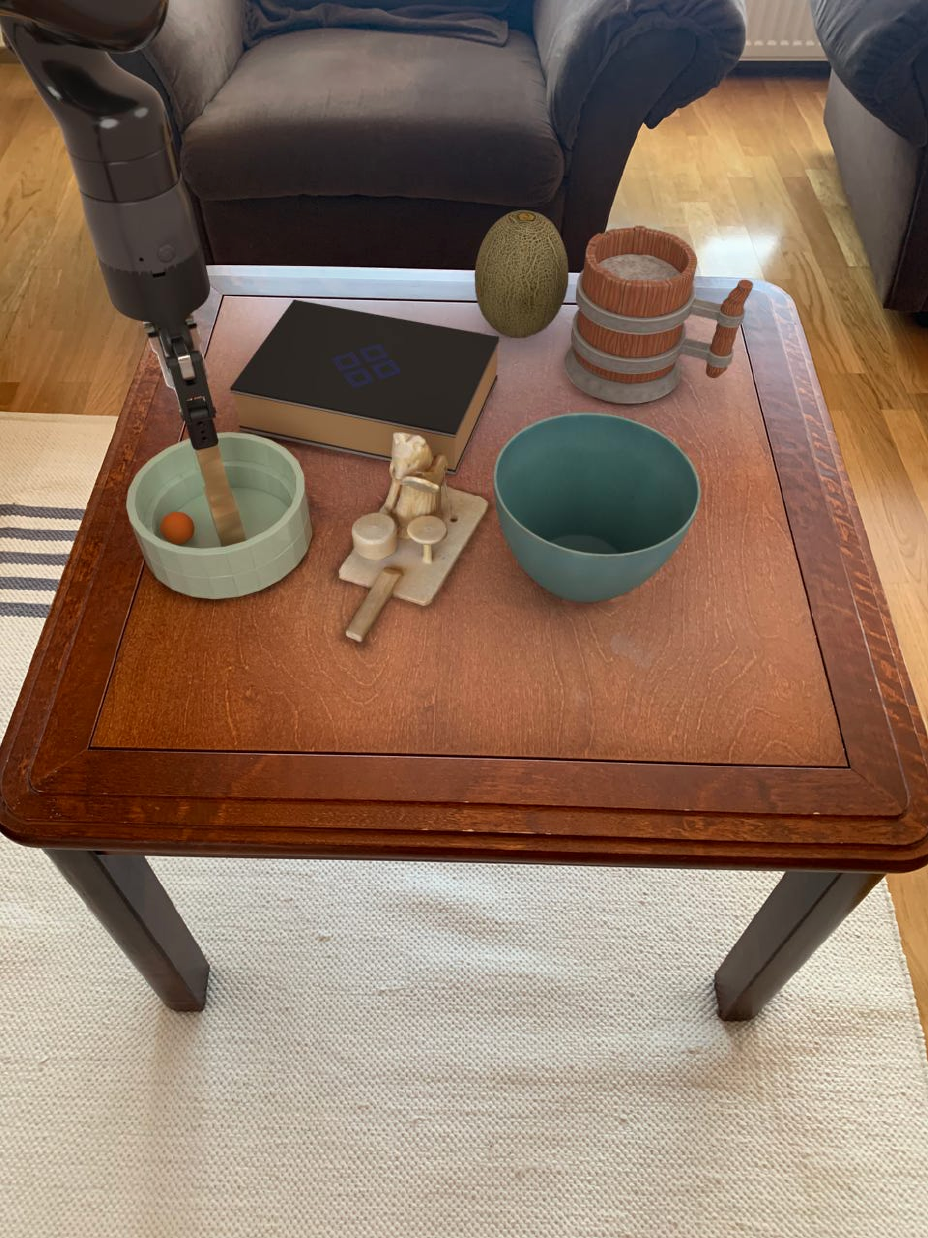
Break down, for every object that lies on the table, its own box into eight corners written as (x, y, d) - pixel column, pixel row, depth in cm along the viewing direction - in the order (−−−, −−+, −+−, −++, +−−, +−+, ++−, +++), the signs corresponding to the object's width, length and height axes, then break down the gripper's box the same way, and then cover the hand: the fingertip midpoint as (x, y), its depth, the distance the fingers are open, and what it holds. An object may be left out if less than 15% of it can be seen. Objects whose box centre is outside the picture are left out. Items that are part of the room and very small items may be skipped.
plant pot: (667, 509, 96) (691, 416, 86) (682, 649, 84) (711, 560, 75) (493, 500, 96) (497, 407, 87) (485, 638, 85) (488, 548, 75)
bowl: (164, 625, 86) (144, 575, 80) (132, 508, 95) (112, 457, 90) (334, 574, 90) (326, 524, 84) (287, 467, 99) (277, 415, 94)
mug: (583, 325, 116) (598, 209, 104) (734, 361, 112) (768, 245, 100) (547, 389, 108) (559, 272, 96) (709, 431, 104) (741, 313, 92)
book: (301, 347, 113) (293, 298, 108) (497, 384, 109) (499, 335, 103) (240, 436, 102) (229, 387, 97) (455, 481, 98) (455, 433, 93)
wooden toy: (406, 475, 99) (400, 370, 88) (493, 505, 96) (498, 399, 85) (298, 621, 86) (276, 518, 76) (395, 659, 84) (387, 558, 73)
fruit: (567, 356, 112) (580, 240, 100) (475, 357, 112) (477, 241, 100) (557, 303, 119) (569, 189, 107) (471, 304, 119) (473, 189, 107)
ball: (189, 554, 91) (156, 546, 90) (198, 531, 93) (167, 523, 92) (188, 532, 88) (155, 524, 88) (198, 509, 90) (165, 501, 90)
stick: (223, 553, 90) (186, 425, 78) (213, 522, 93) (175, 394, 80) (247, 546, 91) (214, 418, 78) (236, 516, 94) (202, 387, 81)
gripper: (80, 204, 71) (137, 378, 83) (110, 301, 62) (168, 478, 75) (178, 186, 73) (218, 360, 85) (219, 278, 64) (257, 455, 77)
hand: (195, 415), depth 80 cm, fingers open, 8 cm apart
